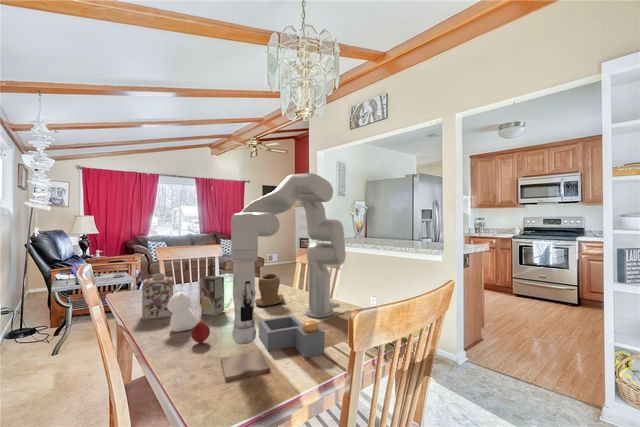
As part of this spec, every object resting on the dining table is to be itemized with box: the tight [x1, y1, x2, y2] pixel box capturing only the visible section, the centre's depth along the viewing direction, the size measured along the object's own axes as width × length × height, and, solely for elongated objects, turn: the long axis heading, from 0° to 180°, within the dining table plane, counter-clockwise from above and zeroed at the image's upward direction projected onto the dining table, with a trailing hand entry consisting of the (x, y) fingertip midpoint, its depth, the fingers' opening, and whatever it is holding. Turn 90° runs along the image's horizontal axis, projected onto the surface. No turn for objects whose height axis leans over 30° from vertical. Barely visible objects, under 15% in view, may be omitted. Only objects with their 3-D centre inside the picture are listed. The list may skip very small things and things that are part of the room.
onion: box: [191, 319, 211, 345], centre depth 102 cm, size 6×6×8 cm
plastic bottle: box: [232, 288, 257, 345], centre depth 87 cm, size 6×7×20 cm
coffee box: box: [199, 275, 225, 317], centre depth 135 cm, size 9×6×16 cm
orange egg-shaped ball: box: [301, 319, 319, 332], centre depth 96 cm, size 5×5×6 cm
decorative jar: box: [141, 272, 174, 321], centre depth 132 cm, size 12×12×18 cm
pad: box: [220, 350, 271, 382], centre depth 87 cm, size 12×12×1 cm
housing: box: [258, 314, 325, 359], centre depth 101 cm, size 16×22×7 cm
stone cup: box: [254, 272, 286, 307], centre depth 148 cm, size 15×12×15 cm
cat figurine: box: [167, 289, 203, 333], centre depth 116 cm, size 9×12×15 cm
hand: (244, 316), depth 87 cm, fingers closed on plastic bottle, 6 cm apart
